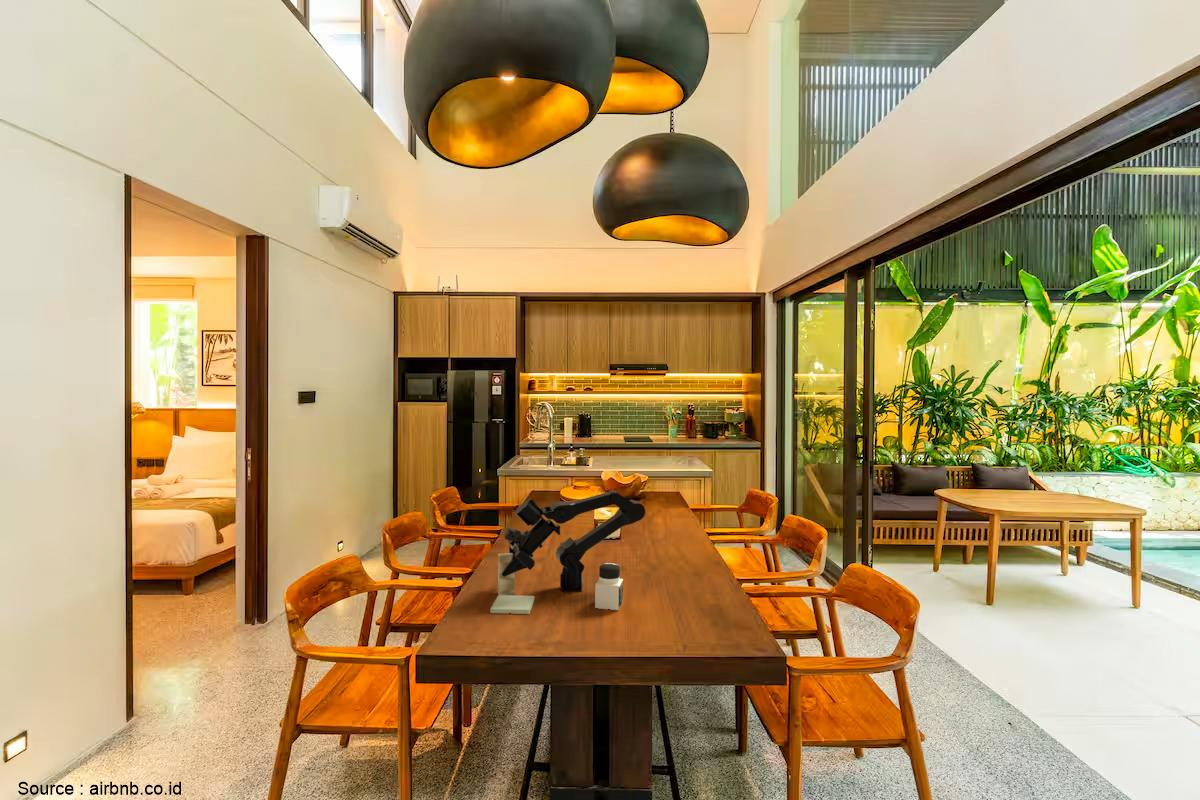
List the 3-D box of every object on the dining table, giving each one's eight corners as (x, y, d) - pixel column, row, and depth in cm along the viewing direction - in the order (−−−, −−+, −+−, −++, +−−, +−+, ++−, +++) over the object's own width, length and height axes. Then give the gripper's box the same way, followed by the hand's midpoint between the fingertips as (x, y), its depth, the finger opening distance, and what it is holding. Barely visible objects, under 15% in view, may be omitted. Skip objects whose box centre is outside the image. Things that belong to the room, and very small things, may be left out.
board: (534, 599, 174) (534, 595, 174) (529, 613, 163) (529, 609, 163) (498, 599, 174) (498, 595, 174) (490, 613, 163) (490, 608, 163)
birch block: (512, 590, 182) (512, 552, 182) (514, 595, 177) (514, 557, 177) (497, 592, 180) (498, 553, 180) (499, 597, 176) (499, 558, 176)
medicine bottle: (619, 610, 166) (619, 569, 166) (594, 608, 168) (595, 567, 168) (623, 602, 173) (623, 562, 173) (599, 600, 175) (600, 560, 175)
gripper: (515, 512, 189) (480, 547, 186) (524, 524, 171) (485, 564, 168) (538, 534, 191) (504, 570, 188) (550, 549, 173) (512, 589, 170)
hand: (501, 573), depth 178 cm, fingers closed on birch block, 5 cm apart
